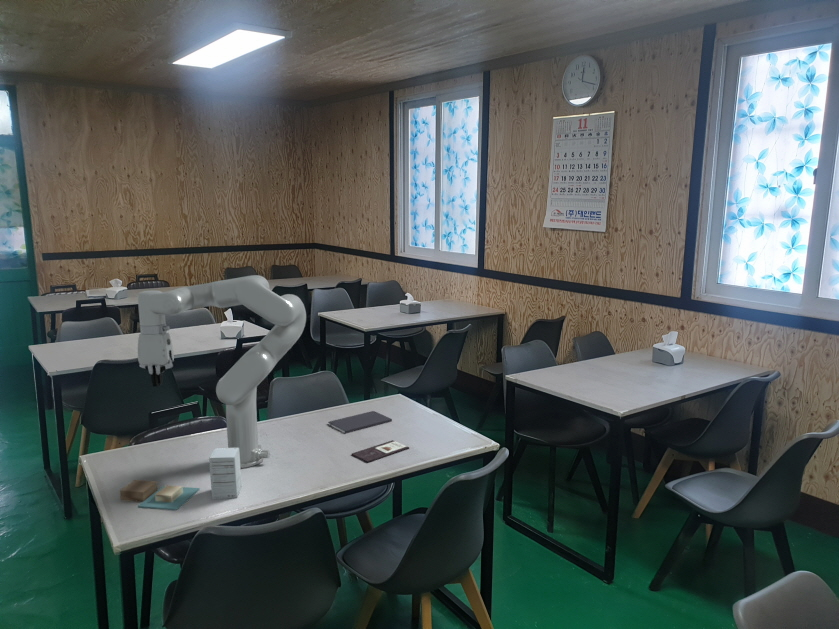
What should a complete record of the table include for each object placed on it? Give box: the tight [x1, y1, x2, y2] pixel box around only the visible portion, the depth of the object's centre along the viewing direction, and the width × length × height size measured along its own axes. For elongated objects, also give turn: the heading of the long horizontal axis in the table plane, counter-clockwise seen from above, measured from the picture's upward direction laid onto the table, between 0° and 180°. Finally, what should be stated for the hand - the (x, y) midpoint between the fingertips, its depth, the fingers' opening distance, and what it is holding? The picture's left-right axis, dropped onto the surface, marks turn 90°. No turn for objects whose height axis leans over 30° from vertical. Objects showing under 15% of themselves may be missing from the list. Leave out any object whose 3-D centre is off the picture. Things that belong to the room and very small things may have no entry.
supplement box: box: [208, 447, 243, 500], centre depth 185 cm, size 7×7×13 cm
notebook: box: [328, 410, 393, 435], centre depth 244 cm, size 13×2×21 cm
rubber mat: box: [137, 485, 201, 511], centre depth 183 cm, size 12×13×1 cm
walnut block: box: [119, 479, 158, 503], centre depth 184 cm, size 7×7×3 cm
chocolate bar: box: [351, 439, 410, 464], centre depth 216 cm, size 9×1×18 cm
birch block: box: [155, 484, 184, 502], centre depth 182 cm, size 5×6×2 cm
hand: (157, 385), depth 204 cm, fingers closed
